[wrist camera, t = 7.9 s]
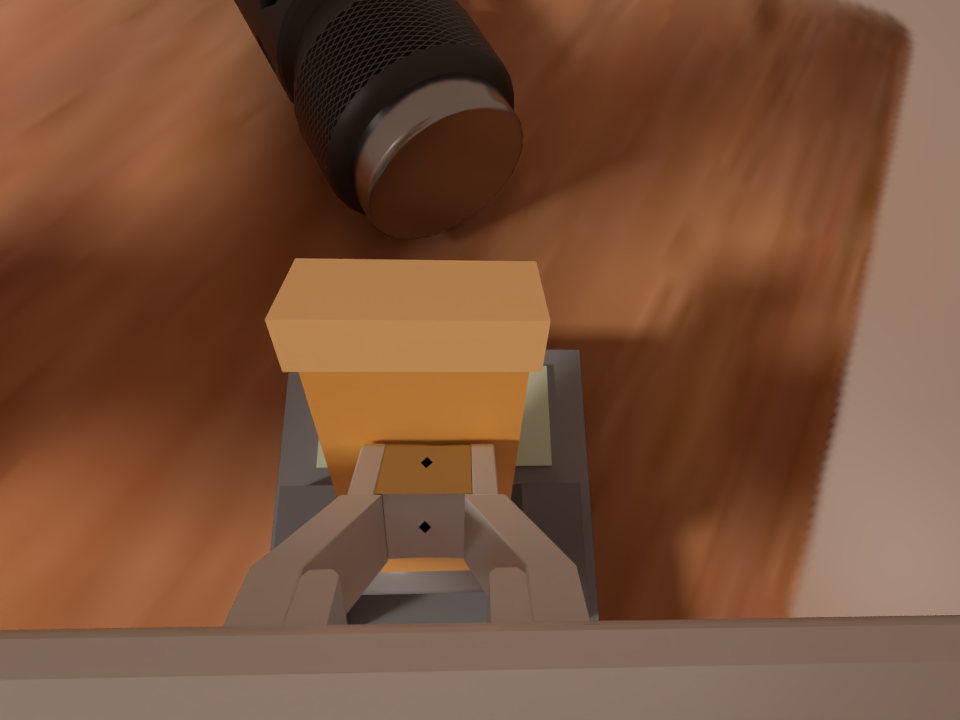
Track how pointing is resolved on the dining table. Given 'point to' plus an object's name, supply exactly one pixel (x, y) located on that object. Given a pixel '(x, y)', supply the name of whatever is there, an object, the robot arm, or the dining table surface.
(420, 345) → the lever
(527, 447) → the panel
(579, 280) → the dining table surface
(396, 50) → the muzzle brake
